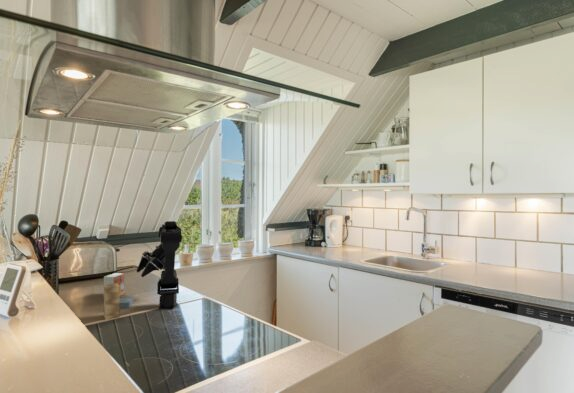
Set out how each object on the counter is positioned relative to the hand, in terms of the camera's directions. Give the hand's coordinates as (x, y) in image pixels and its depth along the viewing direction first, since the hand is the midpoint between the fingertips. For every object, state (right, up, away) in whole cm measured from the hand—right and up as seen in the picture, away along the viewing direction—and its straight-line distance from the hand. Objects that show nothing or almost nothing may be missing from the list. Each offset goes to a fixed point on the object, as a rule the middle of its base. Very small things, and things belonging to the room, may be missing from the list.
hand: (139, 274), depth 160 cm
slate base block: (-7, -14, -3) cm, 16 cm away
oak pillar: (-5, -14, -17) cm, 22 cm away
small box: (-17, -13, +9) cm, 23 cm away
